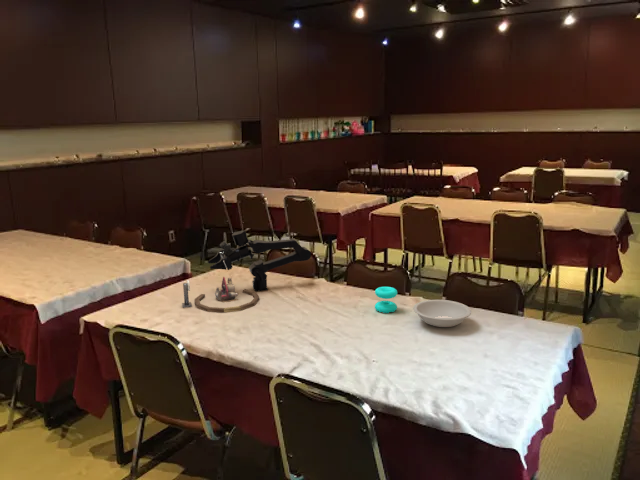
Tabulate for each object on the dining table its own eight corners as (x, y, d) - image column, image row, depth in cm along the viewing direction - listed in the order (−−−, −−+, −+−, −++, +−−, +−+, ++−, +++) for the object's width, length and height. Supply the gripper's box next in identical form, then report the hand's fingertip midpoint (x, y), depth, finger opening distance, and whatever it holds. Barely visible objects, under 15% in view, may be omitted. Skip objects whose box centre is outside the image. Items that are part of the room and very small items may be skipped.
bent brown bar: (253, 290, 278) (253, 288, 277) (264, 307, 254) (264, 304, 253) (193, 297, 268) (192, 294, 268) (199, 315, 244) (198, 312, 244)
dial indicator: (190, 303, 260) (188, 278, 257) (191, 307, 255) (189, 281, 253) (182, 304, 259) (180, 279, 256) (183, 308, 254) (181, 282, 251)
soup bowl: (472, 336, 218) (473, 321, 216) (411, 332, 222) (412, 317, 221) (468, 315, 241) (469, 301, 239) (413, 312, 245) (414, 298, 244)
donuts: (375, 292, 242) (375, 285, 251) (374, 313, 244) (374, 306, 254) (397, 292, 241) (396, 285, 250) (397, 314, 243) (396, 306, 253)
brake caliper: (208, 292, 269) (222, 271, 269) (226, 302, 274) (239, 282, 274) (214, 299, 259) (228, 278, 259) (232, 309, 264) (246, 288, 264)
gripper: (230, 234, 278) (201, 245, 275) (236, 243, 261) (205, 255, 258) (237, 254, 282) (209, 265, 279) (244, 264, 265) (213, 276, 262)
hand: (209, 265), depth 269 cm, fingers open, 9 cm apart
